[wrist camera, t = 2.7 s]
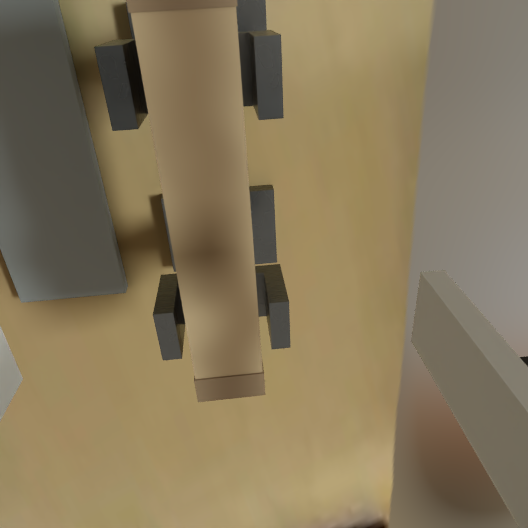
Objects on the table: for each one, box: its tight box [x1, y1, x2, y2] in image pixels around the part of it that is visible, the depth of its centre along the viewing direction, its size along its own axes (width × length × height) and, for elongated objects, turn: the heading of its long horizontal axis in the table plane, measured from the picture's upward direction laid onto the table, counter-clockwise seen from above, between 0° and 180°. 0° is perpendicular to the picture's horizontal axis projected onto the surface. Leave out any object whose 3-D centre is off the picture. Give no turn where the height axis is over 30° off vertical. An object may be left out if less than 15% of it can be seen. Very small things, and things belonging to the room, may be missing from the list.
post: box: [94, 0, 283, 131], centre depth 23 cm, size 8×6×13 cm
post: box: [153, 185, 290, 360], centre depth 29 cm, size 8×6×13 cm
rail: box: [126, 0, 265, 402], centre depth 21 cm, size 4×20×4 cm, turn 3°
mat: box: [0, 0, 128, 303], centre depth 30 cm, size 21×8×1 cm, turn 3°
